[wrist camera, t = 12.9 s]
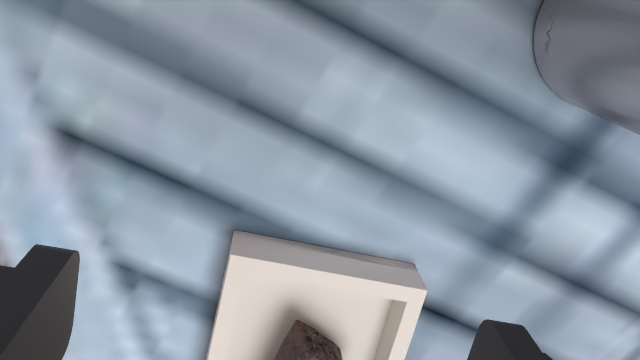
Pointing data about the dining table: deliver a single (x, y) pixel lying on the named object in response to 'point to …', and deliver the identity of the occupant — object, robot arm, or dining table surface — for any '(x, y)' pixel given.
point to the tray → (313, 300)
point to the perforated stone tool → (307, 345)
